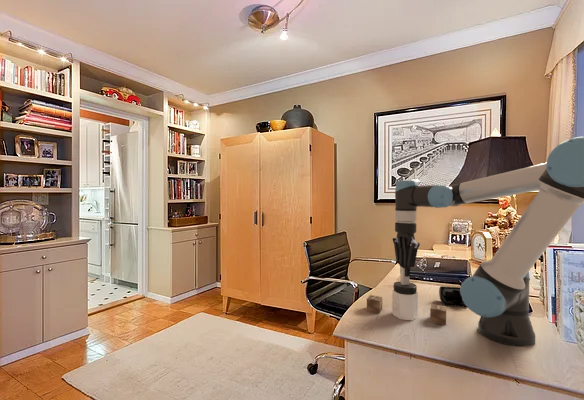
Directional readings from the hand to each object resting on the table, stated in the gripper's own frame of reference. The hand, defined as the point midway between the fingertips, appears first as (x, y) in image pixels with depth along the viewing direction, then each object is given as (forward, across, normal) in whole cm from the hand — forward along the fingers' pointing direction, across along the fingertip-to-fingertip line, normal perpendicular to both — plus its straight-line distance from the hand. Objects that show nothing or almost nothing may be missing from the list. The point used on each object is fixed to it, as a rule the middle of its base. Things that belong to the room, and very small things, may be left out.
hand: (405, 284), depth 111 cm
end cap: (+12, +5, -28) cm, 31 cm away
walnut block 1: (+12, -7, -9) cm, 17 cm away
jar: (+12, 0, 0) cm, 12 cm away
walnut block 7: (+12, +8, +8) cm, 17 cm away
